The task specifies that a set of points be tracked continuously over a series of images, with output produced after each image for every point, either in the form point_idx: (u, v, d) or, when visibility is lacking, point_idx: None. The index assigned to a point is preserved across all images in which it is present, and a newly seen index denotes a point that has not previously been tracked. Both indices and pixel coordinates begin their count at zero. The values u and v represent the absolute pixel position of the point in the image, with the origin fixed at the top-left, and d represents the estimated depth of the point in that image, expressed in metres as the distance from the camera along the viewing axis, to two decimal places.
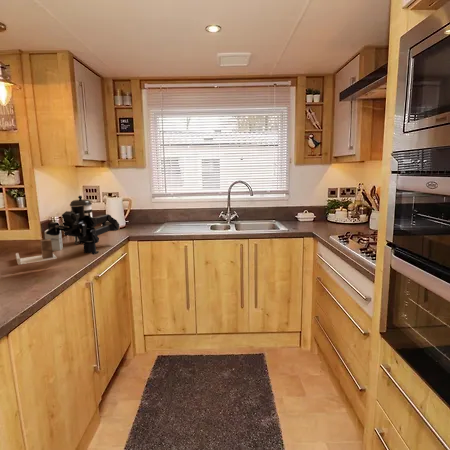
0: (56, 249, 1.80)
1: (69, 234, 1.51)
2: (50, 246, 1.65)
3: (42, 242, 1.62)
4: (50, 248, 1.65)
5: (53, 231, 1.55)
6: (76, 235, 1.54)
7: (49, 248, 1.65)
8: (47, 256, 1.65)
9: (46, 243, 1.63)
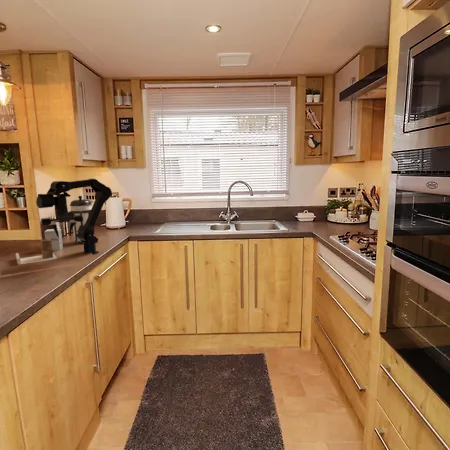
0: (56, 249, 1.80)
1: None
2: (50, 246, 1.65)
3: (42, 242, 1.62)
4: (50, 248, 1.65)
5: None
6: None
7: (49, 248, 1.65)
8: (47, 256, 1.65)
9: (46, 243, 1.63)
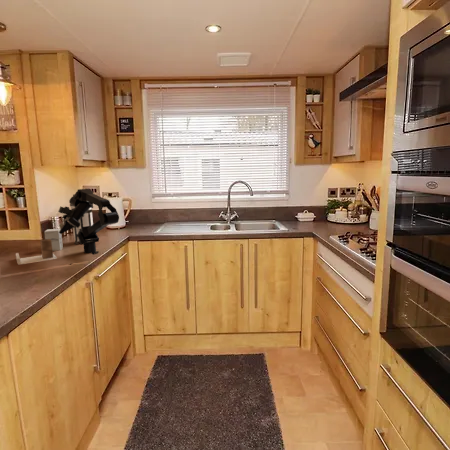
0: (56, 249, 1.80)
1: (64, 230, 1.69)
2: (50, 246, 1.65)
3: (42, 242, 1.62)
4: (50, 248, 1.65)
5: None
6: (71, 227, 1.69)
7: (49, 248, 1.65)
8: (47, 256, 1.65)
9: (46, 243, 1.63)
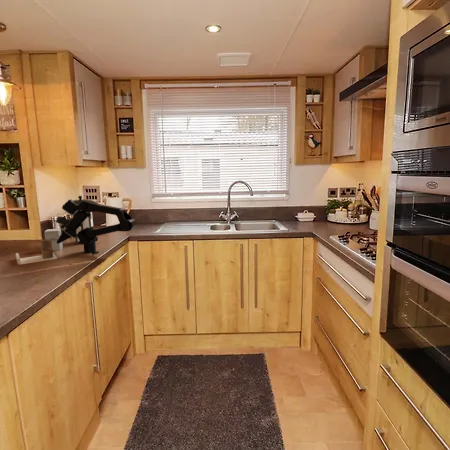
0: (56, 249, 1.80)
1: (61, 240, 1.69)
2: (50, 246, 1.65)
3: (42, 242, 1.62)
4: (50, 248, 1.65)
5: None
6: (68, 237, 1.70)
7: (49, 248, 1.65)
8: (47, 256, 1.65)
9: (46, 243, 1.63)
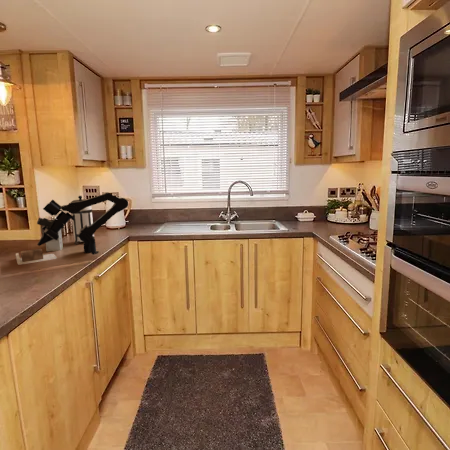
0: (56, 249, 1.80)
1: (43, 242, 1.64)
2: (29, 253, 1.60)
3: (23, 260, 1.59)
4: (31, 253, 1.60)
5: None
6: (50, 239, 1.64)
7: (31, 253, 1.60)
8: (40, 255, 1.63)
9: (25, 257, 1.59)
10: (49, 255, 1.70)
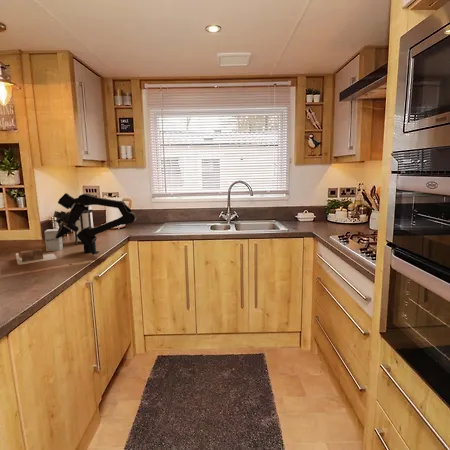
0: (56, 249, 1.80)
1: (61, 235, 1.67)
2: (29, 253, 1.60)
3: (23, 260, 1.59)
4: (31, 253, 1.60)
5: None
6: (68, 231, 1.68)
7: (31, 253, 1.60)
8: (40, 255, 1.63)
9: (25, 257, 1.59)
10: (49, 255, 1.70)
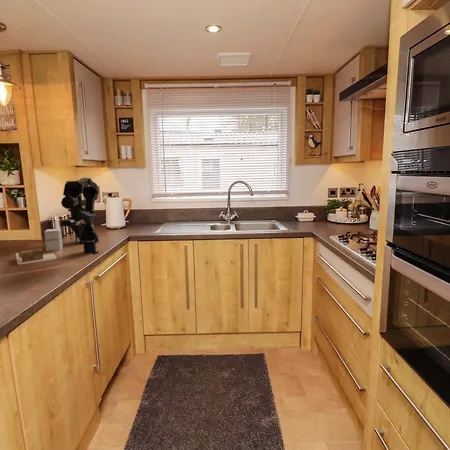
0: (56, 249, 1.80)
1: None
2: (29, 253, 1.60)
3: (23, 260, 1.59)
4: (31, 253, 1.60)
5: None
6: None
7: (31, 253, 1.60)
8: (40, 255, 1.63)
9: (25, 257, 1.59)
10: (49, 255, 1.70)
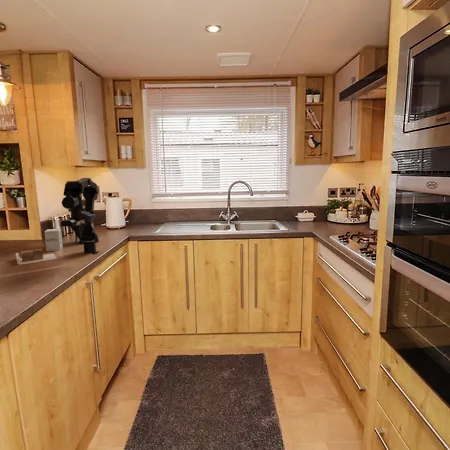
0: (56, 249, 1.80)
1: None
2: (29, 253, 1.60)
3: (23, 260, 1.59)
4: (31, 253, 1.60)
5: None
6: None
7: (31, 253, 1.60)
8: (40, 255, 1.63)
9: (25, 257, 1.59)
10: (49, 255, 1.70)
